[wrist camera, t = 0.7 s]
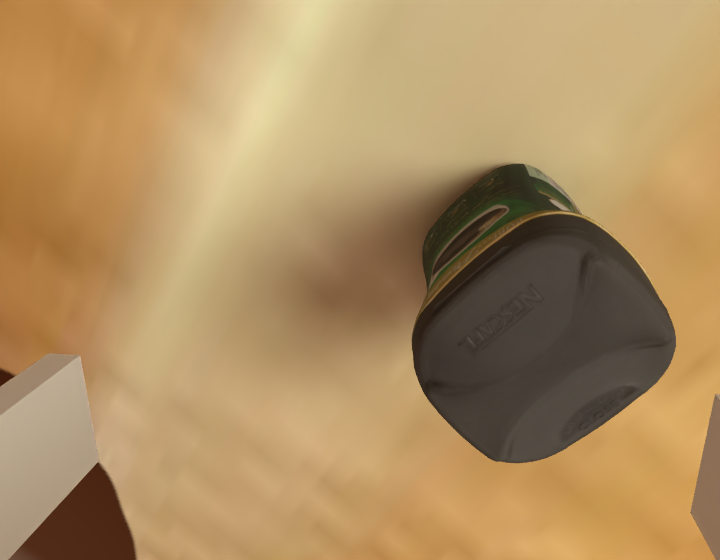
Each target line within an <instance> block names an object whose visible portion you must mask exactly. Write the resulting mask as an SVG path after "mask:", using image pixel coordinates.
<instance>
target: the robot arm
mask: <svg viewBox="0 0 720 560" xmlns="http://www.w3.org/2000/svg"><path fill="white" fill-rule="evenodd" d="M98 461H99V457H98V451H97V446H96V440H95V435H94V429H93V424H92V418H91V413H90V407H89V402H88V396H87V391H86V385H85V380H84V374H83V369H82V363H81V358H80V355H67V354H51V353H48V354H47V355H45V356H44V357H43V358H41V359H40V360H38V361H37V362H35V363H34V364H32V365H31V366H29V367H28V368H27V369H25V370H24V371H22V372H21V373H19V374H18V375H16V376H15V377H14V378H12V379H11V380H9V381H8V382H6V383H5V384H3V385H2V386H1V387H0V560H8V559H9V558H10V557H11V556H12V555H13V554H14V553H15V552H16V551H17V549H18V548H19V547H20V546H21V545H22V544H23V543H24V542H25V541H26V540H27V539H28V537H29V536H30V535H31V534H32V533H33V532H34V531H35V530H36V529H37V528H38V526H39V525H40V524H41V523H42V522H43V521H44V520H45V519H46V518H47V517H48V516H49V514H50V513H51V512H52V511H53V510H54V509H55V508H56V507H57V506H58V505H59V504H60V502H61V501H62V500H63V499H64V498H65V497H66V496H67V495H68V494H69V493H70V492H71V491H72V489H73V488H74V487H75V486H76V485H77V484H78V483H79V482H80V481H81V480H82V478H83V477H84V476H85V475H86V474H87V473H88V472H89V471H90V470H91V469H92V467H94V465H95V464H96V463H97V462H98ZM690 513H691V514H692V516H693V518H694V520H695V522H696V524H697V526H698V527H699V529H700V531H701V533H702V535H703V537H704V539H705V540H706V542H707V544H708V546H709V548H710V550H711V552H712V553H713V555H714V557H715V559H716V560H720V394H715V397H714V402H713V407H712V412H711V416H710V421H709V426H708V431H707V436H706V440H705V445H704V450H703V455H702V460H701V464H700V469H699V474H698V479H697V484H696V488H695V493H694V498H693V503H692V508H691V512H690Z"/></svg>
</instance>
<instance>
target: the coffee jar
mask: <svg viewBox="0 0 720 560" xmlns="http://www.w3.org/2000/svg"><path fill="white" fill-rule="evenodd" d="M422 255H423V268H424V273H425V277H426V281H427V291H428V292H427V295H426V298H425V300H424V302H423V305H422V307H421V309H420V311H419V313H418V316H417V318H416V321H415V324H414V328H413V333H412V350H413V360H414V368H415V372H416V375H417V378H418V381H419V383H420V385H421V388H422V390H423V392H424V394H425V395H426V397H427V399H428V400H429V401H430V403H431V404H432V405H433V406H434V408H435V409H436V410H437V411H438V413H439V414H440V415H441V416H442V417H443V418H444V419H445V420H446V421H447V422H448V423H449V424H450V425H451V426H452V427H453V428H454V429H455V430H456V431H457V432H458V433H459V434H460V435H461V436H462V437H463V438H464V439H466V440H467V441H468V442H469V443H470V444H471V445H472V446H474V447H475V448H476V449H477V450H479V451H480V452H481V453H483V454H484V455H485V456H487V457H488V458H490V459H492V460H494V461H496V462H497V461H501V462H506V463H525V462H533V461H537V460H541V459H544V458H548V457H550V456H552V455H554V454H556V453H558V452H560V451H562V450H564V449H566V448H567V447H568V446H570V445H572V444H573V443H575V442H576V441H578V440H580V439H581V438H583V437H585V436H586V435H588V434H589V433H591V432H592V431H594V430H595V429H597V428H598V427H600V426H601V425H603V424H604V423H606V422H607V421H608V420H610V419H611V418H612V417H614V416H615V415H617V414H618V413H619V412H621V411H622V410H623V409H625V408H626V407H627V406H628V405H630V404H631V403H632V402H633V401H635V400H636V399H637V398H638V397H640V396H641V395H642V394H644V393H645V392H647V391H648V390H649V389H650V388H651V387H652V386H653V385H654V384H656V383H657V381H658V380H659V379H660V378H661V377H662V375H663V374H664V373H665V371H666V370H667V368H668V367H669V365H670V363H671V360H672V358H673V355H674V352H675V347H676V336H675V330H674V327H673V324H672V321H671V319H670V316H669V314H668V311H667V309H666V307H665V306H664V304H663V303H662V301H661V300H660V298H659V297H658V294H657V292H656V289H655V287H654V285H653V283H652V281H651V279H650V277H649V276H648V274H647V273H646V271H645V270H644V268H643V267H642V265H641V264H640V262H639V261H638V260H637V259H636V257H635V256H634V255H633V254H632V253H631V251H630V250H629V249H628V248H627V247H626V246H625V245H624V244H623V243H622V242H621V241H620V240H618V239H617V238H616V237H615V236H614V235H613V234H612V233H611V232H609V231H608V230H607V229H605V228H604V227H603V226H601V225H600V224H598V223H597V222H595V221H594V220H592V219H590V218H589V217H586V216H584V215H582V214H581V212H580V210H579V209H578V207H577V206H576V205H575V203H574V202H573V201H572V200H571V198H570V197H569V196H568V195H567V193H566V192H565V191H564V190H563V189H562V188H561V187H560V186H559V185H558V184H557V183H555V182H554V181H553V180H552V179H551V178H550V177H548V176H547V175H546V174H544V173H543V172H542V171H540V170H538V169H537V168H534V167H531V166H529V165H525V164H511V165H507V166H503V167H501V168H498V169H496V170H494V171H493V172H491V173H490V174H489V175H487V176H485V177H484V178H483V179H481V180H480V181H479V182H478V183H476V184H475V185H474V186H472V187H471V188H470V189H469V190H468V191H466V192H465V193H464V194H463V195H462V196H461V197H460V198H459V199H458V200H457V201H455V202H454V203H453V204H452V205H451V206H450V207H449V208H448V209H447V210H446V211H445V213H444V214H443V215H442V216H441V217H440V218H439V219H438V221H437V222H436V223H435V224H434V225H433V227H432V228H431V229H430V231H429V232H428V234H427V236H426V239H425V241H424V245H423V253H422Z"/></svg>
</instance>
